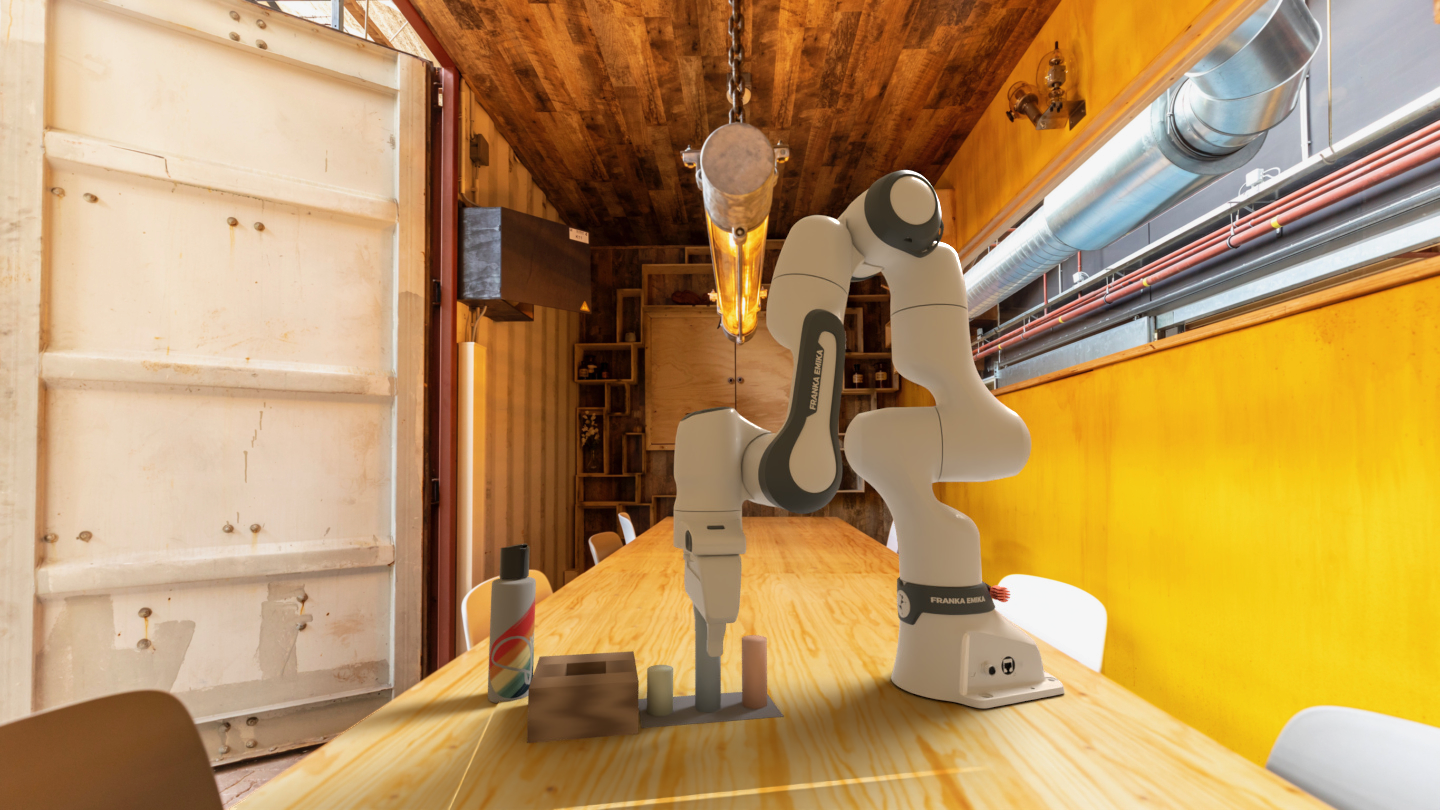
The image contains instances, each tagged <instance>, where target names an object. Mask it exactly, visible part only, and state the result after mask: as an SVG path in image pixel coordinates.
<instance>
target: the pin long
mask: <svg viewBox="0 0 1440 810" xmlns="http://www.w3.org/2000/svg"><path fill="white" fill-rule="evenodd" d="M694 635H695V636H694V639H695V640H694V642H695V645H694V647H695V649H694V650H695V651H694V652H695V653H694V654H695V655H694V657H695V659H694V662H695V663H694V664H695V666H694V668H695V669H694V671H695V672H694V676H695V677H694V678H695V679H694V681H695V682H694V686H695V687H694V695H695V709H696V710H698V711H700V712H707V713H709V712H716V711H718V710H720V709H721V693H722V679H721V678H722V676H721V671H722V667H721V665H722V663H721V661H722V660H721V659H722V655H721V656H718V657H711V656H709V655H708V653H707V650H706V647H707V646H706V638H707V622H706V621H705V619H704V618H703V616H702V615H701V613H700V612H699V610H698V609H697V608H696V606H695V618H694Z"/></svg>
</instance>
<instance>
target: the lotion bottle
mask: <svg viewBox="0 0 1440 810" xmlns="http://www.w3.org/2000/svg"><path fill="white" fill-rule="evenodd" d="M530 548H531V547H530V545H528V543H518V544H513V545H510V546H505V547H501V548H500V549H499V550H500V551H499V578H497V579H494V580H493V581H492V582H491V590H490V591H491V592H490V595H491V596H490V616H489V617H490V621H489V643H488V644H489V647H488V649H489V651H488V677H487V698H488V700H489V701H490V702H492V703H495V704H499V703H500V702H512V701H513V702H514V701H518V700H522V699H524V698H527V697H528V692H529V686H530V683H531V680H532V678H533V675H534V662H535V655H534V654H535V653H534V652H535V627H536V626H535V625H536V623H535V622H536V594H537V593H536V589H537V588H536V587H537V585H536V578H534V577H531V576H529V573H530V551H531V549H530Z"/></svg>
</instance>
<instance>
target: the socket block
mask: <svg viewBox="0 0 1440 810" xmlns="http://www.w3.org/2000/svg"><path fill="white" fill-rule="evenodd" d="M635 657H636V656H635V653H634V650H632V651H615V652H598V653H597V652H596V653H580V654H563V655H546V656H545V655H542V656H539V658H538V661H537V664H536V667H535V669H534V671H533V678H532V680H531V683H530V686H529V692H528V696H527V697H528V698H527V699H528V701H527V702H528V703H527V704H528V705H527V729H526V730H527V732H526V733H527V734H526V743H527V744H532V743H544V742H557V741H569V740H570V741H571V740H580V739H582V740H583V739H593V738H594V739H595V738H604V737H606V738H607V737H616V736H617V737H618V736H619V737H620V736H631V735H632V736H633V735H638V734H639V707H638V699H639V684H640V683H639V682H640V681H639V676H638V669H637V663H636V658H635Z"/></svg>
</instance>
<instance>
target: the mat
mask: <svg viewBox="0 0 1440 810" xmlns="http://www.w3.org/2000/svg"><path fill="white" fill-rule="evenodd" d="M638 714H639V719H640V725H641V729H648V728H662V727H672V726H685V725H686V726H687V725H696V724H697V725H698V724H699V725H700V724H709V723H724V722H734V721H735V722H736V721H748V720H761V719H774V718H775V719H776V718H784V717H785V715H784V713H782V711H781V710H780V709H779V708H778V706H777V704H776V703H775V702H774V701H773V699H772V698H771V697H770V695H769V693H767V706H766V707H764V708H760V709H751V708H746V707H744V706H743V705H742V691H735V692H724V693H723V692H721V709H720V710H718V711H716V712H709V713H707V712H700V711H698V710H696V709H695V694H694V695H679V696H673V712H672V713H671V714H669V715H666V716H652V715H649V714H648V713H647V698H638Z"/></svg>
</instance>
